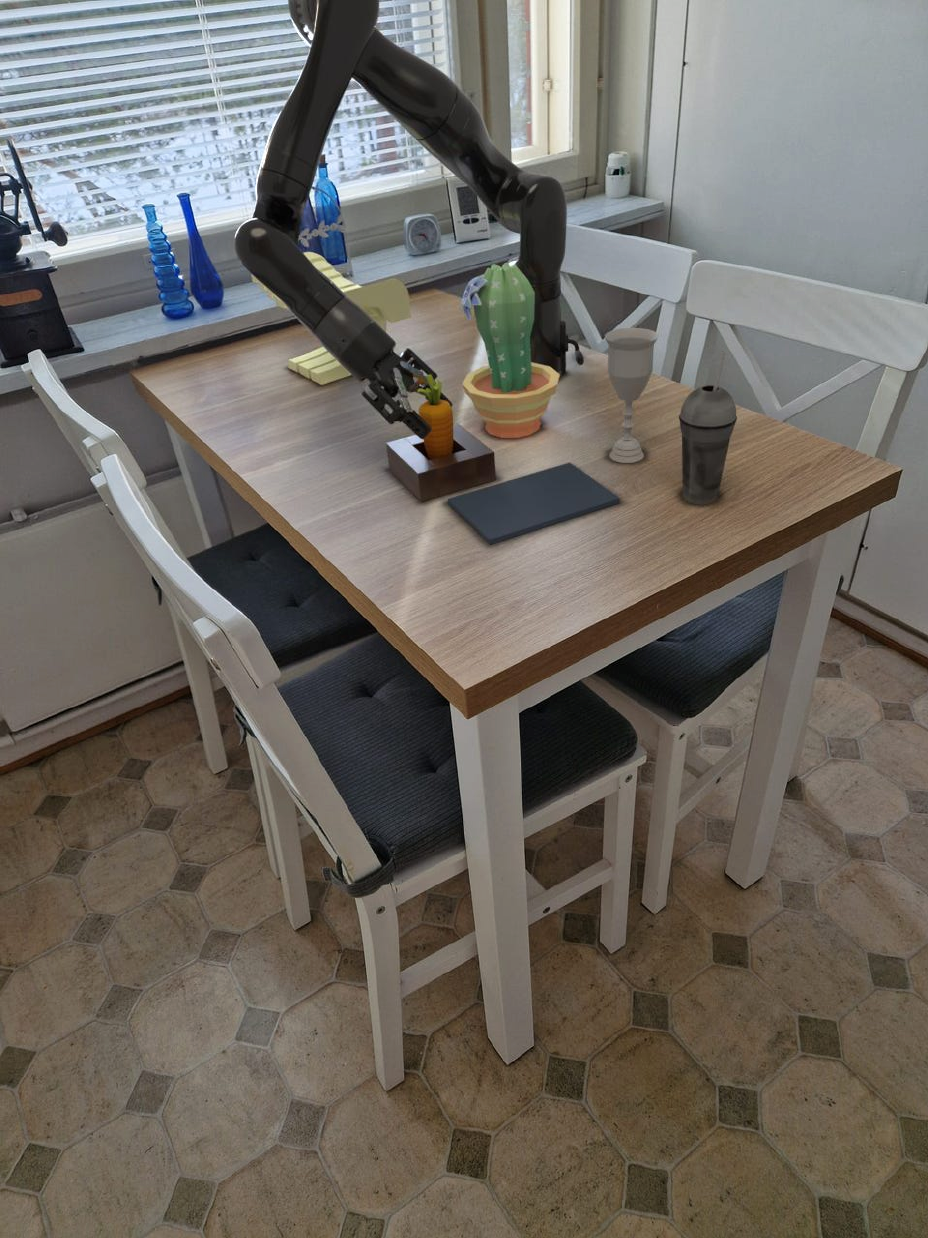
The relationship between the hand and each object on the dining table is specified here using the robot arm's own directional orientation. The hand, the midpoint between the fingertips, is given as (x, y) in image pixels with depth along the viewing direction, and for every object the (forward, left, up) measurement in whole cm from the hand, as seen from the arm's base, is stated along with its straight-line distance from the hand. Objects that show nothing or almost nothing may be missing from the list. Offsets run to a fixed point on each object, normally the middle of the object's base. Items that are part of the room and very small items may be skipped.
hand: (438, 421), depth 126 cm
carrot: (0, 0, -9) cm, 9 cm away
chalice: (-26, +10, -9) cm, 29 cm away
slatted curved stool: (-3, -54, -9) cm, 55 cm away
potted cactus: (-17, -9, -9) cm, 21 cm away
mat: (-7, +15, -8) cm, 18 cm away
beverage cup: (-27, +26, -9) cm, 38 cm away
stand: (0, 0, -8) cm, 8 cm away
